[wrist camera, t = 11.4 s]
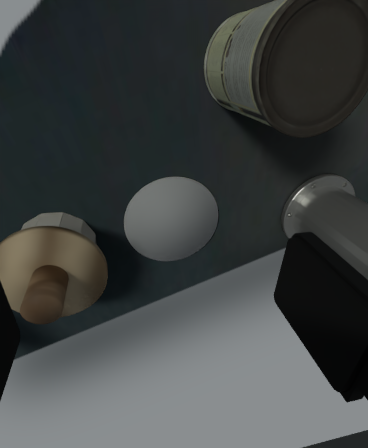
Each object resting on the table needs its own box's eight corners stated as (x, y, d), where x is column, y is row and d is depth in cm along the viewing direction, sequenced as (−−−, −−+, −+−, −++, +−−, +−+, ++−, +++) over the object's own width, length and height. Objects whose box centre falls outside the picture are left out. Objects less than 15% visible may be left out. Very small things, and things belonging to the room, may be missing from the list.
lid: (102, 221, 32) (101, 253, 27) (111, 303, 39) (111, 342, 33) (-26, 230, 29) (-56, 266, 24) (6, 316, 36) (-11, 360, 31)
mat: (222, 174, 39) (223, 175, 39) (212, 255, 46) (213, 256, 46) (121, 178, 36) (121, 178, 36) (126, 264, 43) (126, 265, 43)
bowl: (92, 210, 38) (89, 234, 33) (99, 269, 43) (98, 297, 38) (10, 215, 35) (-7, 241, 30) (27, 276, 40) (16, 307, 35)
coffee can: (282, -3, 30) (392, -42, 18) (287, 97, 36) (375, 115, 24) (192, 26, 30) (247, 4, 18) (212, 122, 35) (264, 154, 24)
